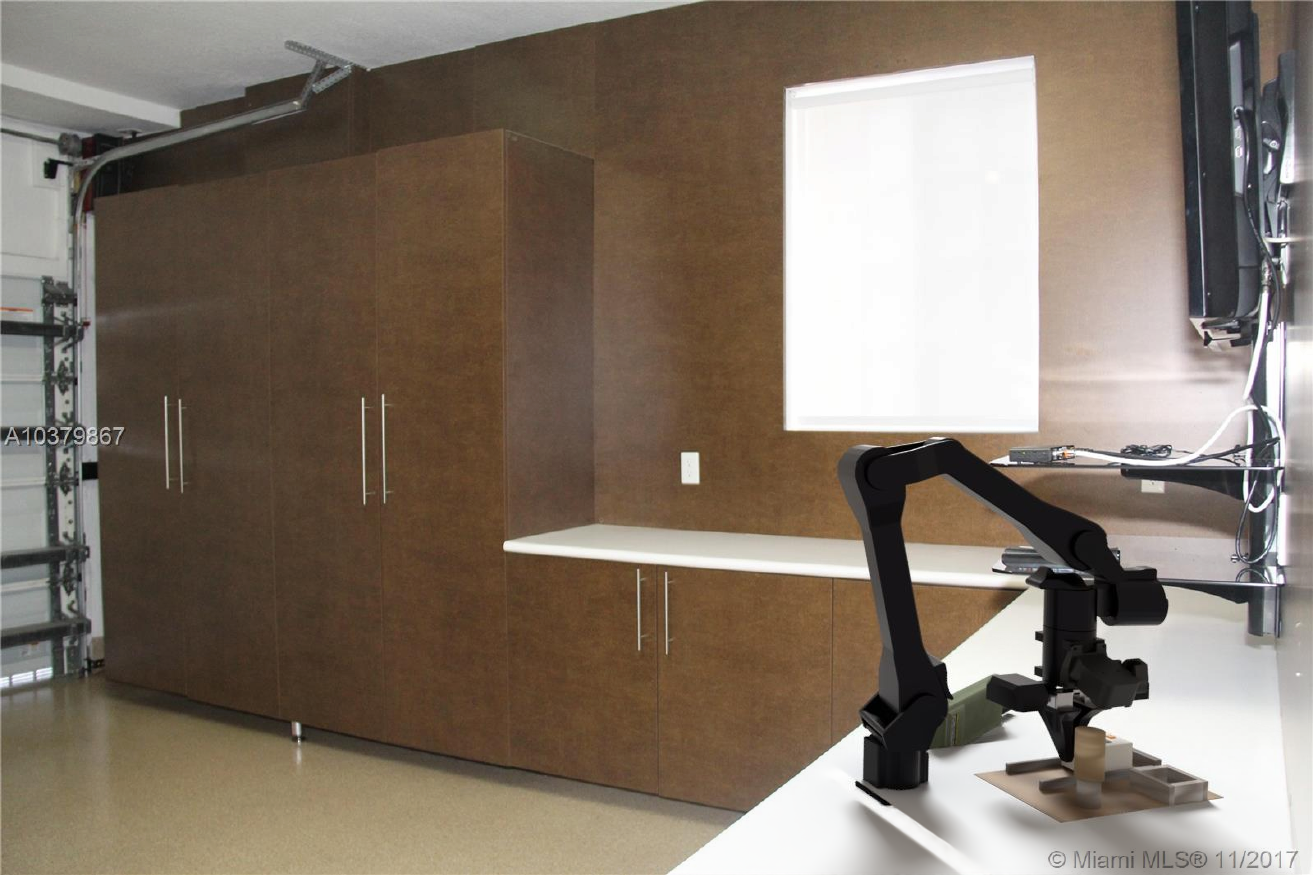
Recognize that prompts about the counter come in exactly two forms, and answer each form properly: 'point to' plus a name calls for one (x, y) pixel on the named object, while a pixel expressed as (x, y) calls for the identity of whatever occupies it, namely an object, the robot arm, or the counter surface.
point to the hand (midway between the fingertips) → (1066, 761)
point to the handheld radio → (968, 716)
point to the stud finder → (1113, 754)
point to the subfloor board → (1120, 790)
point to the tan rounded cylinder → (1089, 765)
